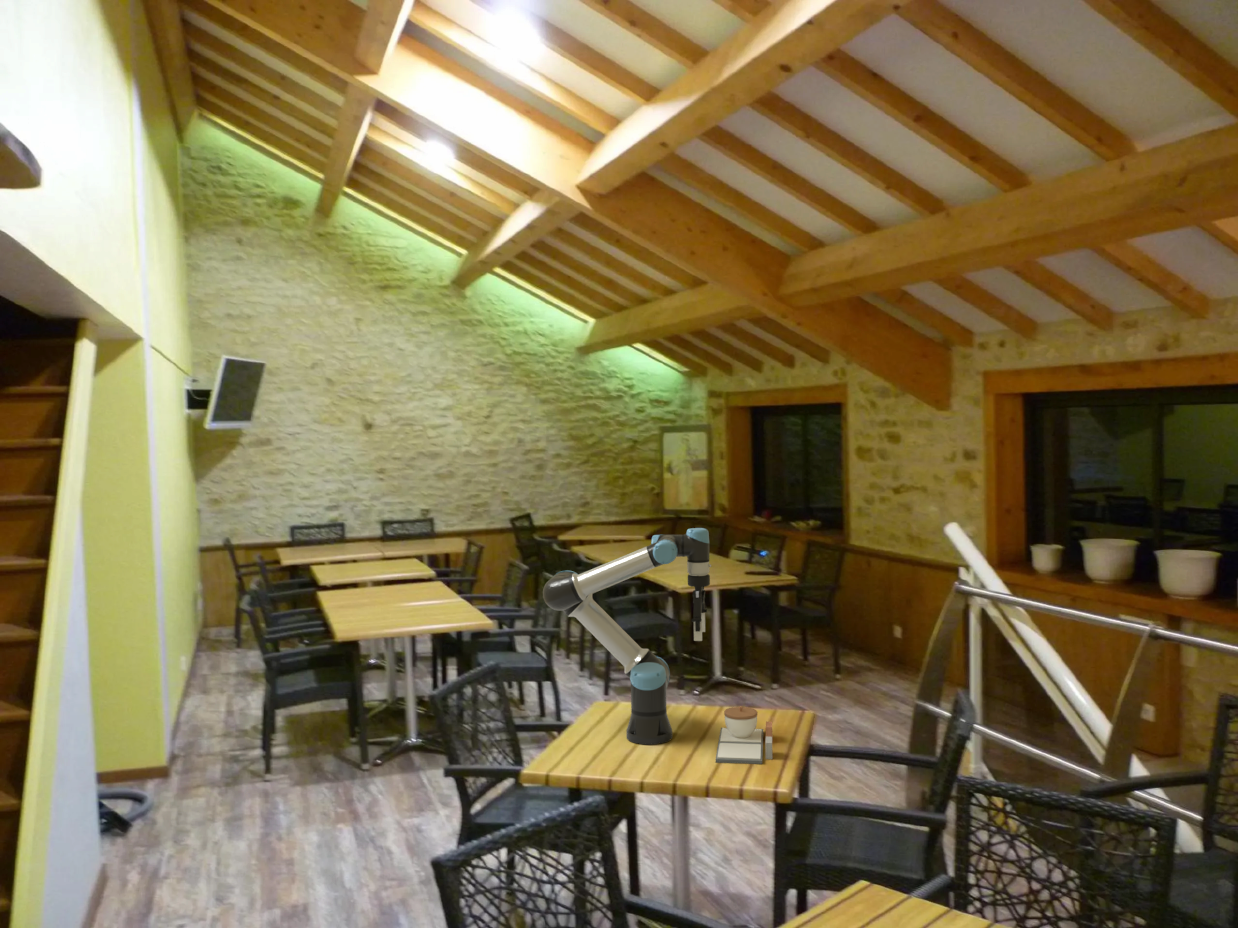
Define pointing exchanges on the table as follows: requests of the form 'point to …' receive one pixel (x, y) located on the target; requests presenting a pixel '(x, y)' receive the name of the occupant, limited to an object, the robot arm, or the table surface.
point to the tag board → (744, 747)
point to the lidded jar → (740, 721)
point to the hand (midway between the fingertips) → (699, 636)
